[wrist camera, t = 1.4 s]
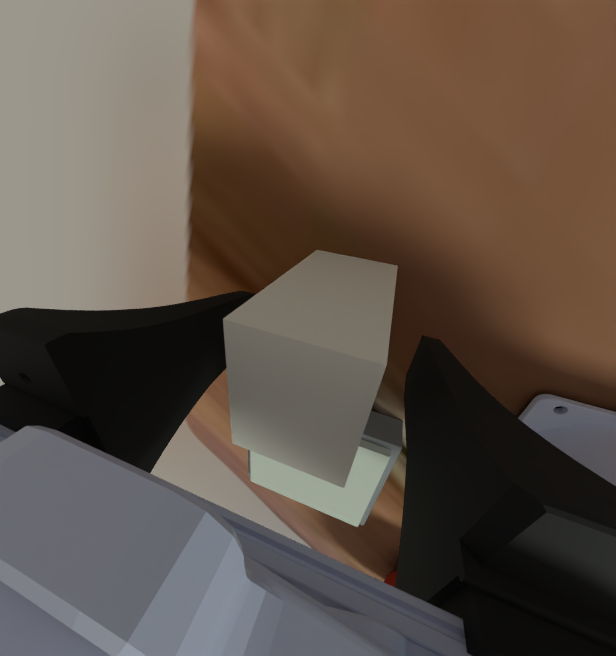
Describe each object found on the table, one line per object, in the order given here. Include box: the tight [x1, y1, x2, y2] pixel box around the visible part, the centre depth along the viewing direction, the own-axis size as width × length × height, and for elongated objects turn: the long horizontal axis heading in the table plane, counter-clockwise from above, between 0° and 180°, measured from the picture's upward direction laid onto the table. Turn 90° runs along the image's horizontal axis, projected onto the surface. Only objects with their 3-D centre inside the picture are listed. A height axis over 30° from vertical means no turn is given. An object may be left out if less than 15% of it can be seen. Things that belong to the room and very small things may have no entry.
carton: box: [223, 250, 398, 488], centre depth 10 cm, size 4×5×8 cm
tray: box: [248, 411, 403, 527], centre depth 19 cm, size 10×10×2 cm
